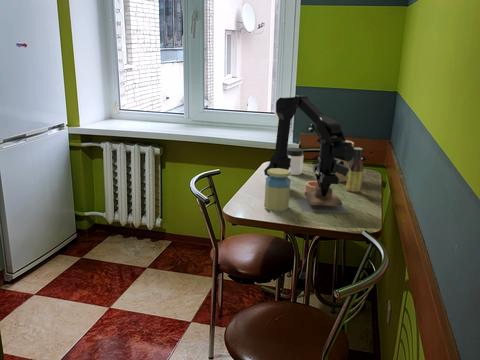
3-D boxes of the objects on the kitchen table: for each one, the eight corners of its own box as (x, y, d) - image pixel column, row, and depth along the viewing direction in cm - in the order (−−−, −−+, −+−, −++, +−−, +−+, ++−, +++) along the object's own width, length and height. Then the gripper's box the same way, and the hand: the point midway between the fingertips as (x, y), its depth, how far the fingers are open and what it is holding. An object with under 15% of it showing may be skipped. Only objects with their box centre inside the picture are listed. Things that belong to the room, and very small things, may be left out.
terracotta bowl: (306, 199, 181) (308, 187, 180) (302, 191, 191) (303, 180, 189) (331, 200, 182) (332, 188, 180) (325, 192, 191) (327, 181, 190)
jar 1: (264, 204, 173) (267, 167, 169) (288, 206, 172) (291, 168, 168) (263, 212, 164) (265, 173, 160) (288, 214, 164) (291, 175, 159)
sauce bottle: (349, 189, 197) (354, 145, 191) (362, 192, 193) (368, 148, 188) (342, 192, 192) (348, 147, 187) (356, 196, 188) (361, 150, 183)
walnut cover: (309, 204, 165) (311, 192, 164) (304, 194, 176) (305, 183, 175) (341, 205, 165) (343, 193, 164) (334, 195, 177) (335, 184, 176)
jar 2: (288, 169, 225) (290, 146, 222) (303, 172, 222) (305, 148, 218) (281, 173, 218) (283, 149, 214) (297, 176, 214) (299, 152, 211)
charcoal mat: (301, 213, 165) (301, 211, 165) (295, 201, 178) (296, 198, 178) (349, 215, 166) (349, 212, 165) (340, 202, 179) (340, 200, 179)
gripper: (355, 162, 157) (350, 204, 162) (342, 150, 175) (338, 188, 180) (324, 161, 157) (320, 202, 161) (314, 149, 175) (310, 187, 179)
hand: (323, 195), depth 170 cm, fingers closed on walnut cover, 3 cm apart
